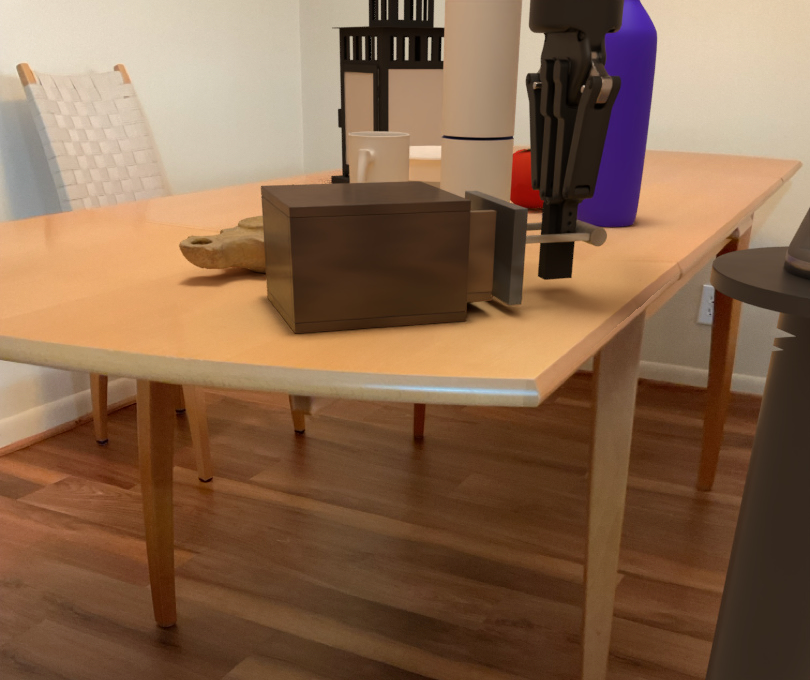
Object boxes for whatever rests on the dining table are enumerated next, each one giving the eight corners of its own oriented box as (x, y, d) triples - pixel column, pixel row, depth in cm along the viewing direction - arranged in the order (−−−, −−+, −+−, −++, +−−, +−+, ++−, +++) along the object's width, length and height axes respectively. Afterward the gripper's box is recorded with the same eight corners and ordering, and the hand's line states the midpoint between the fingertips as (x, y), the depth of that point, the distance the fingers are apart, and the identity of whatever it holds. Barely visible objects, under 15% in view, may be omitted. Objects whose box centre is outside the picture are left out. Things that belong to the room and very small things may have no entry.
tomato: (561, 203, 138) (566, 143, 134) (571, 214, 129) (576, 149, 125) (499, 202, 138) (502, 142, 134) (504, 213, 129) (508, 148, 125)
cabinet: (419, 288, 87) (420, 180, 83) (466, 321, 77) (471, 200, 72) (267, 297, 83) (260, 185, 79) (295, 333, 73) (289, 206, 68)
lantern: (331, 183, 156) (324, -61, 140) (418, 177, 164) (422, -55, 147) (378, 195, 143) (377, -72, 127) (471, 189, 151) (481, -64, 134)
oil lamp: (175, 283, 88) (169, 229, 86) (238, 255, 100) (235, 207, 98) (277, 291, 85) (274, 236, 83) (330, 262, 98) (328, 213, 95)
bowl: (474, 209, 132) (477, 145, 128) (514, 227, 118) (519, 156, 114) (366, 212, 128) (366, 146, 124) (395, 232, 114) (395, 158, 110)
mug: (361, 240, 109) (360, 130, 103) (415, 244, 107) (417, 132, 102) (331, 256, 100) (327, 137, 95) (388, 260, 99) (389, 139, 93)
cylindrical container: (434, 272, 94) (441, -13, 82) (441, 258, 100) (449, -8, 88) (504, 275, 93) (521, -12, 81) (507, 261, 99) (523, -8, 87)
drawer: (556, 271, 90) (563, 187, 87) (613, 298, 81) (624, 205, 77) (336, 284, 84) (334, 195, 81) (370, 315, 75) (369, 215, 71)
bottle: (638, 228, 118) (671, -46, 104) (573, 226, 120) (598, -45, 105) (635, 218, 126) (666, -39, 111) (574, 216, 127) (597, -39, 113)
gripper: (503, -19, 78) (489, 265, 89) (574, -31, 67) (548, 295, 78) (582, -17, 80) (559, 261, 91) (664, -28, 69) (626, 290, 80)
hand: (554, 277), depth 84 cm, fingers closed
